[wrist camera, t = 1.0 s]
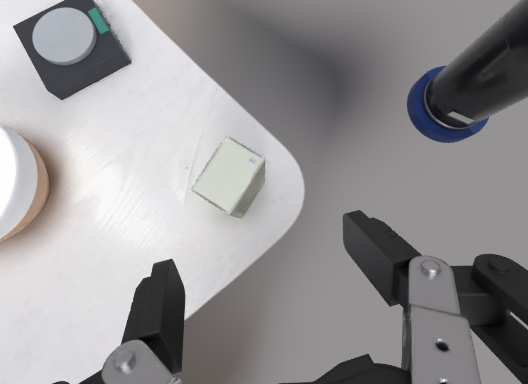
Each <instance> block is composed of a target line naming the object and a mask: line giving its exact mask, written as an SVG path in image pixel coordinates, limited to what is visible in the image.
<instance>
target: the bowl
mask: <svg viewBox="0 0 528 384" xmlns="http://www.w3.org/2000/svg"><path fill="white" fill-rule="evenodd" d="M49 188H50V184H49V177H48V174H47V171H46V167H45V164H44V162H43V160H42V158H41V157H40V155H39V153H38V152H37V150H36V149H35V147H34V146H33V145H32V144H31V143H30V142H29V141H28V140H27V139H25V138H24V137H22V136H21V135H19V134H18V133H16V132H15V131H13V130H12V129H10V128H8V127H5V126H3V125H1V124H0V242H2V241H5V240H6V239H8V238H9V237H11V236H13V235H14V234H16V233H17V232H19V231H21V230H22V229H23V228H25V227H26V226H27V225H28V224H29V223H30V222H31V221H32V220H33V219H34V218H35V217H36V216H37V215H38V214H39V213H40V212H41V210H42V209H43V207H44V205H45V203H46V201H47V198H48V195H49Z"/></svg>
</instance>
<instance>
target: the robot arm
mask: <svg viewBox="0 0 528 384" xmlns="http://www.w3.org/2000/svg"><path fill="white" fill-rule="evenodd" d="M527 97H528V0H520V1H519V2H517V3H516V4H515V5H514V6H513V7H512V8H511V9H510V10H509V11H508V12H506V13H505V14H504V15H503V16H502V17H501V18H500V19H499V20H498V21H496V22H495V23H494V24H493V25H492V26H491V27H490V28H489V29H488V30H486V31H485V32H484V33H483V34H482V35H481V36H480V37H479V38H478V39H476V40H475V41H474V42H473V43H472V44H471V45H470V46H469V47H467V48H466V49H465V50H464V51H463V52H462V53H461V54H460V55H459V56H457V57H456V58H455V59H454V60H453V61H452V62H451V63H450V64H448V65H447V66H446V67H445V68H444V69H443V70H442V71H441V72H439V73H438V74H437V75H435V76H434V77H433V78H432V79H431V80H430V81H429V82H428V83H427V84H426V86H425V87H424V90H423V93H422V105H423V108H424V111H425V113H426V114H427V116H428V117H429V118H430V120H431V121H432V122H434V123H435V124H436V125H438V126H440V127H442V128H444V129H447V130H453V131H459V130H464V129H467V128H469V127H471V126H473V125H475V124H477V123H478V122H480V121H482V120H484V119H486V118H488V117H490V116H492V115H494V114H496V113H498V112H499V111H502V110H503V109H506V108H507V107H509V106H511V105H513V104H515V103H517V102H519V101H521V100H523V99H525V98H527ZM343 241H344V246H345V248H346V250H347V252H348V254H349V255H350V256H351V258H352V259H353V260H354V261H355V263H356V264H357V265H358V267H359V268H360V269H361V270H362V272H363V273H364V274H365V275H366V277H367V278H368V279H369V281H370V282H371V283H372V284H373V286H374V287H375V288H376V289H377V291H378V292H379V293H380V295H381V296H382V297H383V299H384V300H385V301H386V302H387V304H388V305H389V306H390V307H391V306H393V305H397V304H400V305H401V306H402V307H403V308H404V309H403V334H402V364H401V368H398V367H395V366H392V365H387V364H378V363H373V361H372V359H371V358H370V356H369V354H366V355H363V356H360V357H357V358H354V359H351V360H348V361H345V362H342V363H340V364H338V365H337V366H335V367H334V368H333V369H331V370H330V371H328V372H327V373H326V374H325V375H323V376H322V377H320V378H319V379H317V380H316V381H314V382H304V383H280V384H481V380H480V375H479V370H478V365H477V360H476V355H475V350H474V345H473V341H472V336H471V331H470V328H471V329H472V331H473V332H474V333H475V334H476V335H477V336H478V337H479V338H480V339H481V340H482V341H483V342H484V343H485V344H486V346H487V347H488V348H489V349H490V350H491V351H492V352H493V353H494V354H495V355H496V356H497V357H498V358H499V359H500V360H501V361H502V363H503V364H504V365H505V366H506V367H507V368H508V369H509V370H510V371H511V372H512V373H513V374H514V375H515V376H516V377H517V379H518V380H520V382H521V383H522V384H528V330H527V329H526V328H525V327H524V326H523V325H522V324H521V323H519V322H518V321H517V320H516V319H515V318H514V317H513V316H511V315H510V312H512V313H514V314H515V315H516V316H517V317H519V319H521V320H522V321H523V322H524V323H525V324H526V325H527V326H528V270H526V269H525V268H523V267H522V266H520V265H519V264H518V263H516V262H514V261H513V260H511V259H509V258H506V257H503V256H499V255H495V254H482V255H479V256H477V257H476V258H475V260H474V263H473V266H449V265H448V264H447V263H446V262H444V261H442V260H441V259H438V258H435V257H432V256H422V255H421V254H420V253H419V252H418V251H416V250H415V249H414V248H413V247H412V246H411V245H410V244H408V243H407V242H406V241H405V240H404V239H403V238H402V237H400V236H398V234H397V233H396V232H394V231H392V229H391V228H390V227H389V226H388V225H387V224H385V223H384V222H382V221H380V220H378V219H375V218H368V217H367V216H366V215H365V214H364V213H363V212H362V211H360V210H358V211H354V212H350V213H346V214H344V215H343ZM184 313H185V290H184V286H183V283H182V280H181V278H180V275H179V273H178V270H177V268H176V265H175V263H174V261H173V259H169V260H165V261H161V262H157V263H154V265H153V268H152V273H151V277H147V278H143V280H142V281H141V283H140V284H139V285H138V287H137V288H136V291H135V294H134V298H133V302H132V305H131V311H130V313H129V316H128V320H127V324H126V327H125V331H124V335H123V339H122V342H121V345H120V346H119V347H118V348H116V349H115V350H114V351H113V352H112V353H111V354H110V355H109V357H108V358H107V359H106V361H105V363H104V365H103V368H102V370H100V371H99V372H97V373H96V374H94V375H92V376H91V377H89V378H87V379H86V380H84V381H82V382H80V383H79V384H184V383H183V382H182V381H181V380H180V379H179V378H175V377H174V376H173V375H172V374H175V373H178V372H180V371H181V368H182V351H183V331H184ZM53 384H69V383H68V382H65V381H60V382H55V383H53Z"/></svg>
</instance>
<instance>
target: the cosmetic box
mask: <svg viewBox="0 0 528 384" xmlns="http://www.w3.org/2000/svg"><path fill="white" fill-rule="evenodd" d="M264 182H265V158H263V157H262V156H260V155H259V154H257V153H256V152H254V151H253V150H251V149H249V148H248V147H246V146H245V145H243V144H241V143H240V142H238V141H236V140H234V139H233V138H231V137H229V136H226V137H225V139H224V140H223V141H222V143H221V144H220V145H219V147H218V148H217V150H216V151H215V152H214V154H213V155H212V157H211V158H210V160H209V161H208V163H207V164H206V166H205V167H204V169H203V171H202V172H201V174H200V175H199V177H198V179H197V180H196V182H195V183H194V185H193V187H192V188H191V190H192V191H193V192H195V193H196V194H198V195H199V196H200V197H202V198H203V199H205V200H206V201H208V202H209V203H210V204H212V205H213V206H215V207H216V208H218V209H220V210H221V211H223V212H224V213H226V214H228V215H231V216H234V217H238V218H242V216H243V215H244V214H245V212H246V211H247V209H248V208H249V206H250V205H251V203H252V201H253V200H254V198H255V197H256V195H257V193H258V192H259V190H260V188H261V187H262V185H263V183H264Z"/></svg>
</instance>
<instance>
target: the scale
mask: <svg viewBox="0 0 528 384" xmlns="http://www.w3.org/2000/svg"><path fill="white" fill-rule="evenodd" d="M13 28H14V29H15V31H16V33H17V35H18V37H19V39H20V41H21V42H22V44H23V46H24V48H25V50H26V52H27V54H28V55H29V57H30V59H31V61H32V63H33V65H34V67H35V68H36V70H37V72H38V74H39V76H40V78H41V80H42V81H43V83H44V85H45V87H46V89H47V90H48V91H49V92H51V93H52V94H54V95H55V96H57V97H58V98H60V99H61V100H62V99H64V98H66V97H68V96H70V95H72V94H74V93H75V92H77V91H79V90H81V89H83V88H85V87H87V86H89V85H90V84H92V83H94V82H96V81H98V80H100V79H102V78H104V77H105V76H107V75H109V74H111V73H113V72H115V71H117V70H118V69H120V68H122V67H124V66H126V65H128V64H130V63H131V61H130V59H129V58H128V56H127V54H126V53H125V51H124V49H123V48H122V46H121V44H120V43H119V41H118V39H117V38H116V36H115V34H114V33H113V31H112V29H111V28H110V26H109V24H108V23H107V21H106V19H105V18H104V16H103V14H102V13H101V11H100V9H99V7H98V6H97V4H96V3H95V1H94V0H64V1H62V2H60V3H58V4H56V5H54V6H52V7H50V8H48V9H46V10H44V11H42V12H40V13H38V14H36V15H34V16H32V17H30V18H28V19H26V20H24V21H22V22H20V23H18V24H16V25H14V26H13Z"/></svg>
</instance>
